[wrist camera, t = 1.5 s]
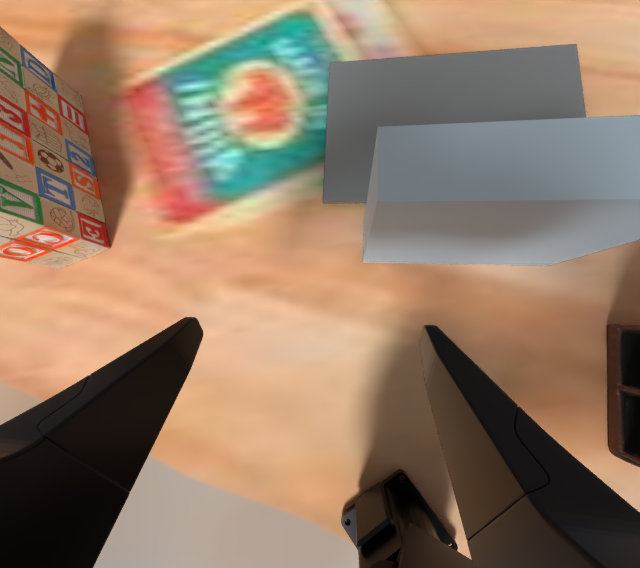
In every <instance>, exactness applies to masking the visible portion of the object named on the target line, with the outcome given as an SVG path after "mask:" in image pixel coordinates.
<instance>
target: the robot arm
mask: <svg viewBox="0 0 640 568" xmlns="http://www.w3.org/2000/svg"><path fill="white" fill-rule="evenodd" d="M202 338H203V330H202V328H201V326H200V324H199V322H198V320H197V319H196V318H195V317H185V318H183V319H182V320H180V321H178V322H177V323H175V324H173V325H172V326H170V327H168V328H167V329H165V330H163V331H162V332H160V333H158V334H157V335H155V336H153V337H152V338H150V339H148V340H147V341H145V342H143V343H142V344H140V345H138V346H137V347H135V348H133V349H132V350H130V351H128V352H127V353H125V354H123V355H122V356H120V357H118V358H117V359H115V360H114V361H112V362H110V363H109V364H107V365H105V366H104V367H102V368H100V369H99V370H97V371H95V372H94V373H92V374H91V375H90V376H87V377H85V378H84V379H82V380H80V381H79V382H77V383H75V384H74V385H72V386H70V387H69V388H67V389H65V390H63V391H62V392H60V393H58V394H56V395H55V396H53V397H51V398H49V399H47V400H46V401H44V402H42V403H40V404H39V405H37V406H35V407H33V408H31V409H29V410H27V411H26V412H24V413H22V414H20V415H18V416H16V417H15V418H13V419H11V420H9V421H7V422H5V423H4V424H2V425H0V568H93V567H94V564H95V563H96V560H97V558H98V556H99V554H100V552H101V550H102V548H103V546H104V544H105V542H106V540H107V538H108V536H109V534H110V532H111V530H112V528H113V526H114V524H115V522H116V520H117V518H118V516H119V513H120V512H121V510H122V508H123V506H124V504H125V502H126V500H127V498H128V496H129V492H130V491H131V489H132V487H133V485H134V483H135V481H136V479H137V477H138V475H139V473H140V471H141V469H142V467H143V465H144V463H145V461H146V459H147V457H148V455H149V453H150V451H151V449H152V447H153V445H154V443H155V441H156V439H157V437H158V435H159V433H160V431H161V429H162V427H163V425H164V423H165V420H166V418H167V416H168V414H169V412H170V410H171V408H172V406H173V404H174V402H175V400H176V398H177V396H178V394H179V392H180V390H181V388H182V386H183V384H184V382H185V380H186V378H187V376H188V374H189V372H190V369H191V367H192V365H193V362H194V359H195V357H196V354H197V351H198V349H199V346H200V343H201V341H202ZM420 351H421V358H422V365H423V372H424V379H425V385H426V389H427V393H428V397H429V401H430V405H431V408H432V412H433V416H434V419H435V423H436V427H437V431H438V434H439V438H440V442H441V446H442V449H443V453H444V457H445V460H446V464H447V468H448V472H449V475H450V479H451V483H452V487H453V490H454V494H455V498H456V501H457V505H458V509H459V513H460V516H461V520H462V524H463V528H464V531H465V535H466V539H467V540H468V542H467V543H468V547H469V550H470V554H471V558H472V560H471V559H469V558H467V557H466V556H464V555H462V554H461V553H459V552H458V551H457V549H458V547H457V544H456V542H455V540H454V538H453V537H452V535H451V534H450V533H449V531H448V530H447V528H446V527H445V526H444V524H443V523H442V522H441V520H440V519H439V517H438V516H437V515H436V513H435V512H434V511H433V509H432V508H431V506H430V505H429V504H428V502H427V501H426V500H425V498H424V497H423V495H422V494H421V493H420V491H419V490H418V488H417V487H416V486H415V484H414V483H413V482H412V480H411V479H410V477H409V476H408V475H407V473H406V472H405V471H404V470H397V471H396V472H395V473H393V474H392V475H391V476H390V477H388V478H387V479H386V480H385V481H383V482H378V483H377V484H376V485H374V486H373V487H372V488H370V489H369V490H368V491H367V492H365V493H364V494H363V495H362V496H360V497H359V498H358V499H356V501H355V504H354V505H353V506H351V507H350V508H349V509H348V510H346V511H345V512H344V513H343V514H342V517H341V523H342V526H343V527H344V529H345V530H346V532H347V534H348V535H349V537H350V538H351V540H352V541H353V543H354V544H355V546H356V548H357V549H358V552H359V568H640V512H638V511H637V510H636V509H635V508H633V507H632V506H631V505H630V504H629V503H627V502H626V501H625V500H624V499H623V498H622V497H620V496H619V495H618V494H617V493H616V492H614V491H613V490H612V489H611V488H610V487H609V486H607V485H606V484H605V483H604V482H603V481H602V480H600V479H599V478H598V477H597V476H596V475H595V474H593V473H592V472H591V471H590V470H589V469H588V468H586V467H585V466H584V465H583V464H582V463H580V462H579V461H578V460H577V459H576V458H575V457H573V456H572V455H571V454H570V453H569V452H568V451H567V450H565V449H564V448H563V447H562V446H561V445H560V444H559V443H557V442H556V441H555V440H554V439H553V438H552V437H551V436H550V435H548V434H547V433H546V432H545V431H544V430H543V429H542V428H541V427H540V426H539V425H538V424H537V423H536V422H535V421H534V420H533V419H531V418H530V417H529V416H528V415H527V414H526V413H525V412H524V411H523V410H522V409H521V408H520V407H517V404H516V403H515V402H514V401H513V400H512V399H511V398H510V397H509V396H508V395H507V394H506V393H505V392H504V391H503V390H502V389H501V388H500V387H499V386H498V385H496V384H495V383H494V382H493V381H492V380H491V379H490V378H489V377H488V376H487V375H486V374H485V373H484V372H483V371H482V370H481V369H480V368H479V367H478V366H477V365H476V364H475V363H474V362H473V361H472V360H471V359H470V358H469V357H468V356H467V355H466V354H465V353H464V352H463V351H462V350H461V349H460V348H459V347H458V346H457V345H456V344H454V343H453V342H452V341H451V340H450V339H449V338H448V337H447V336H446V335H445V334H444V333H443V332H442V331H441V330H440V329H439V328H438V327H437V326H435V325H425V326H424V327H423V329H422V333H421V338H420ZM400 476H404V479H403V480H400V479H399V477H400ZM345 519H350V521H349V522H346V521H345ZM448 543H452V545H451V546H448Z"/></svg>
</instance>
